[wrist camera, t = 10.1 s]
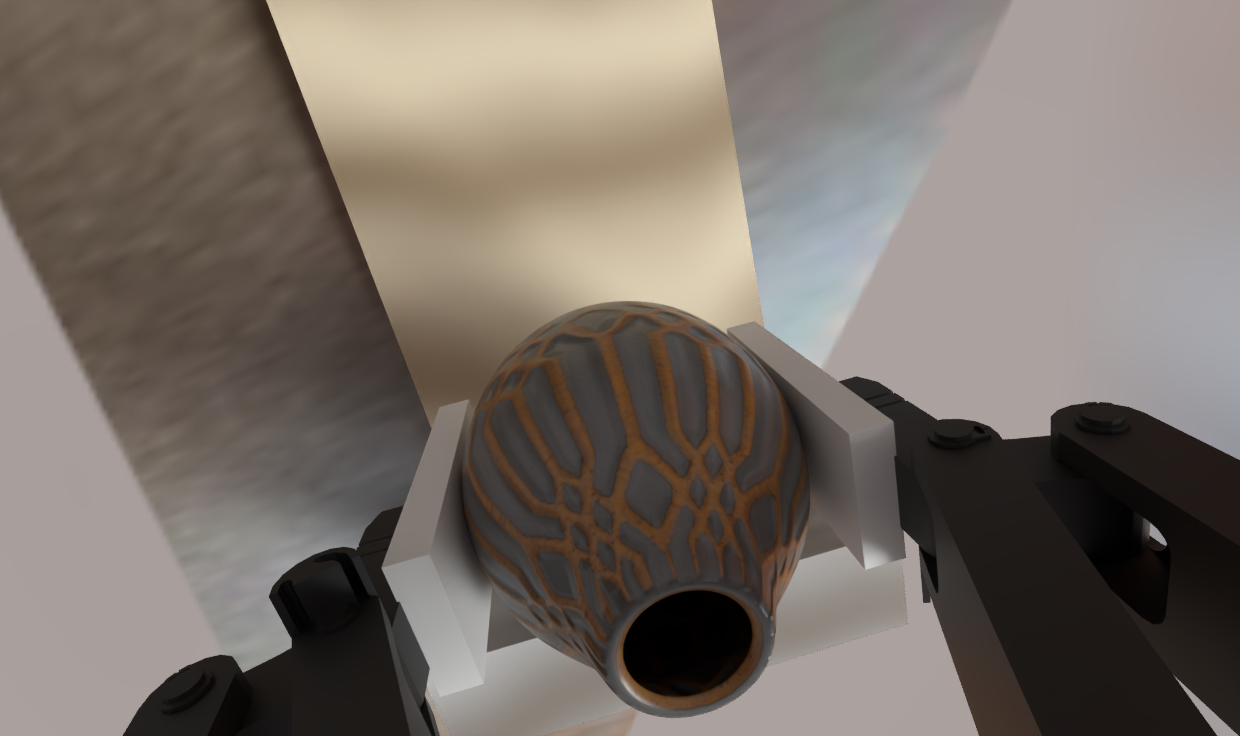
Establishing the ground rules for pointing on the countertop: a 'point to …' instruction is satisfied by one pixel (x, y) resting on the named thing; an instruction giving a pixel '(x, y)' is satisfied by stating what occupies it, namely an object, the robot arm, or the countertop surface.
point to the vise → (547, 240)
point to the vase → (640, 501)
